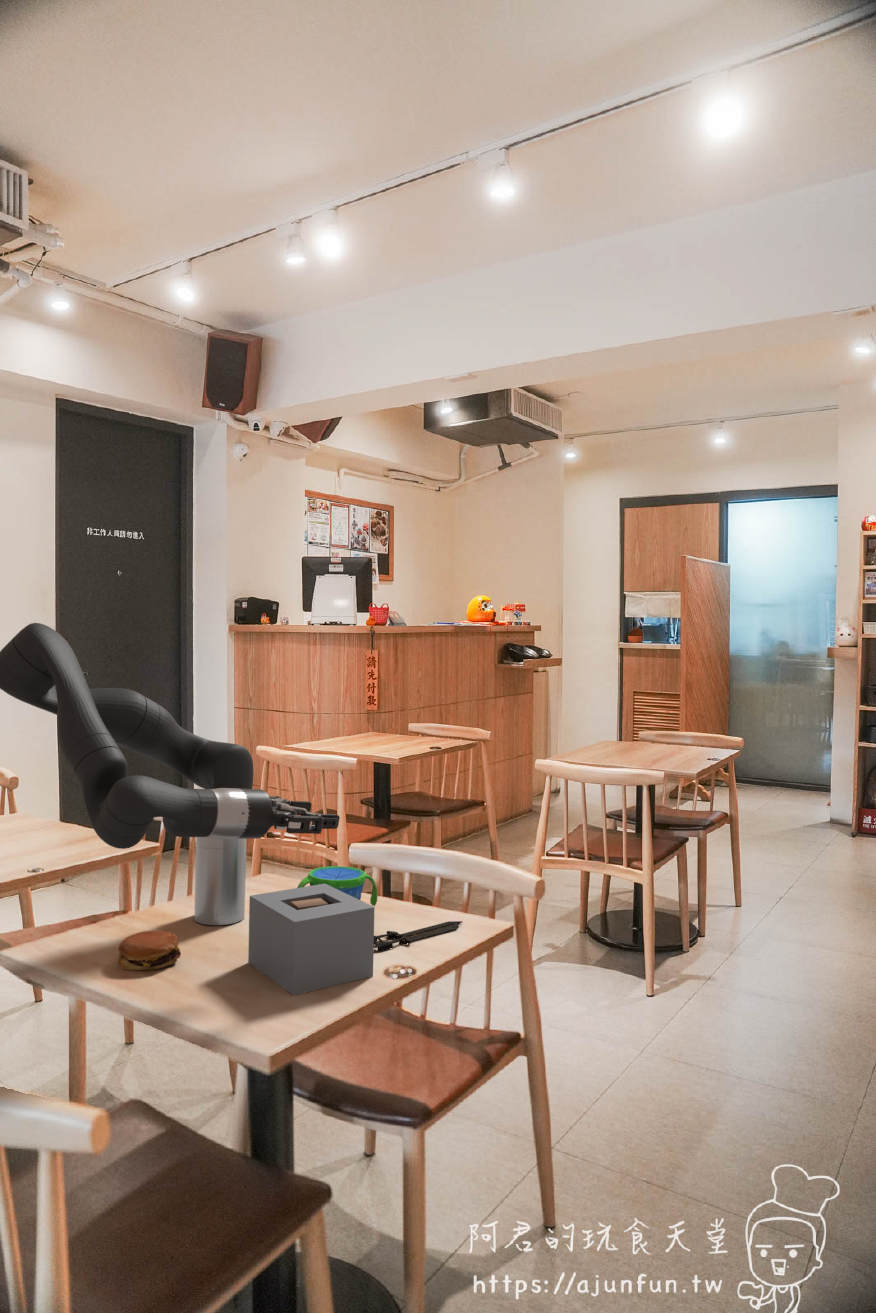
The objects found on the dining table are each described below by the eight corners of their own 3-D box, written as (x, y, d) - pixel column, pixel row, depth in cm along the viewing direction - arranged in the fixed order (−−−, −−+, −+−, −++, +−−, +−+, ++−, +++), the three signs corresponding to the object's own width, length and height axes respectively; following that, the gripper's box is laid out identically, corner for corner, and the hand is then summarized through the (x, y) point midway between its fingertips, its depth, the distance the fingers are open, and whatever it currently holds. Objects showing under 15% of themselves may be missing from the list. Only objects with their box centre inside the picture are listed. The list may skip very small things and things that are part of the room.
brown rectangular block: (288, 963, 142) (289, 901, 141) (318, 958, 144) (320, 897, 144) (295, 971, 138) (297, 907, 138) (327, 966, 141) (328, 903, 141)
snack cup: (369, 915, 171) (370, 863, 171) (384, 932, 161) (385, 877, 161) (288, 921, 166) (290, 868, 166) (299, 940, 156) (300, 882, 156)
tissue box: (248, 962, 145) (249, 895, 144) (323, 946, 153) (325, 883, 153) (293, 995, 132) (294, 921, 131) (372, 976, 140) (374, 907, 140)
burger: (106, 963, 143) (107, 934, 143) (157, 949, 150) (157, 921, 150) (140, 979, 137) (141, 949, 137) (191, 963, 144) (192, 935, 144)
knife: (457, 923, 169) (458, 916, 169) (479, 932, 163) (479, 925, 163) (343, 947, 154) (343, 939, 154) (362, 958, 149) (362, 950, 149)
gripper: (261, 800, 128) (352, 802, 139) (217, 778, 139) (304, 782, 150) (252, 851, 128) (343, 849, 139) (209, 825, 139) (296, 825, 150)
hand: (323, 814), depth 144 cm, fingers open, 8 cm apart
